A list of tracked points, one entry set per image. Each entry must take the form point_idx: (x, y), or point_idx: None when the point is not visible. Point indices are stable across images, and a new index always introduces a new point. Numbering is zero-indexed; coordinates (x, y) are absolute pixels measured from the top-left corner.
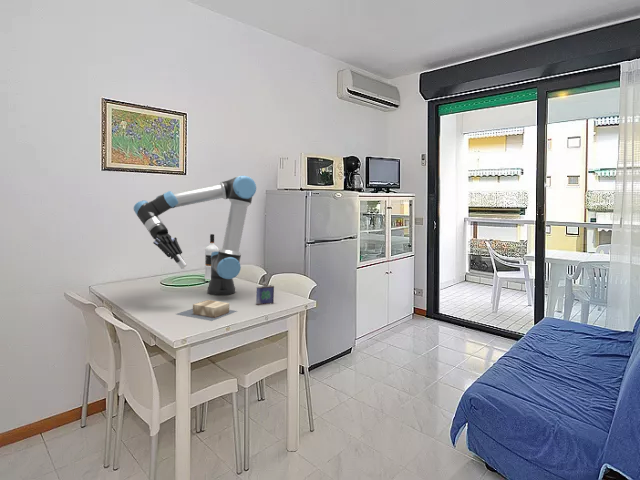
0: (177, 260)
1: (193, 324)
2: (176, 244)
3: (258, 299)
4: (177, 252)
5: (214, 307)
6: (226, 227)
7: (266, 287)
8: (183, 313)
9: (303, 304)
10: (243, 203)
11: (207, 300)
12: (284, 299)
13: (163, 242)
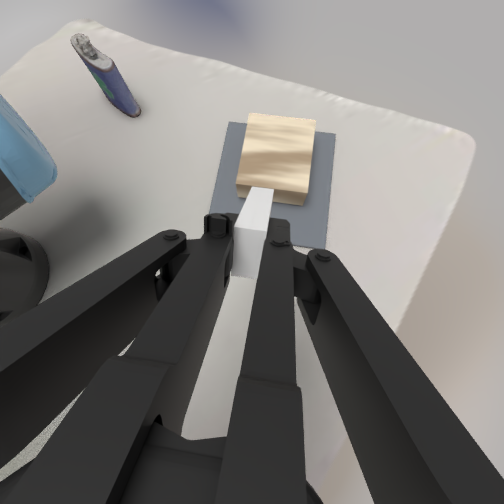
0: (288, 224)
1: (371, 162)
2: (81, 317)
3: (133, 97)
4: (229, 243)
5: (310, 123)
6: None
7: (95, 49)
8: (308, 232)
9: (103, 27)
10: None
11: (243, 181)
12: (60, 77)
13: (314, 500)
